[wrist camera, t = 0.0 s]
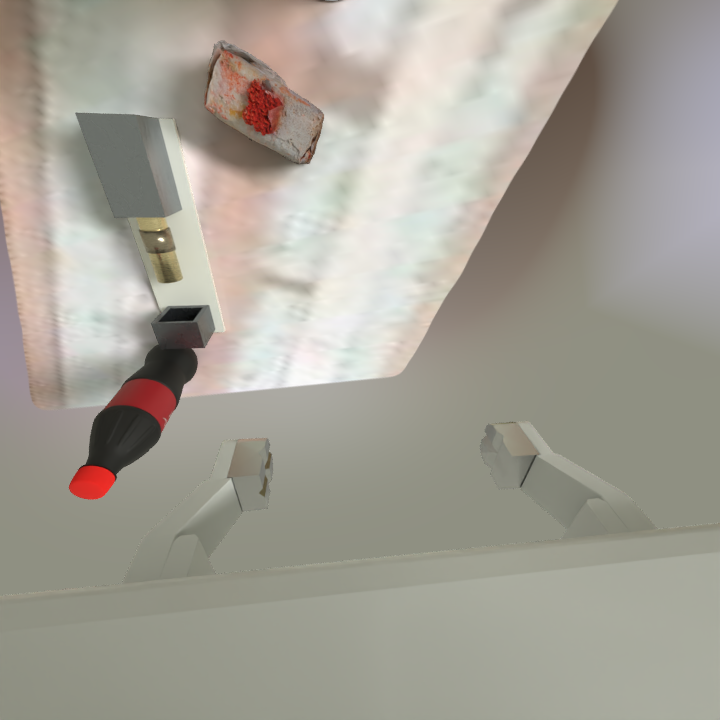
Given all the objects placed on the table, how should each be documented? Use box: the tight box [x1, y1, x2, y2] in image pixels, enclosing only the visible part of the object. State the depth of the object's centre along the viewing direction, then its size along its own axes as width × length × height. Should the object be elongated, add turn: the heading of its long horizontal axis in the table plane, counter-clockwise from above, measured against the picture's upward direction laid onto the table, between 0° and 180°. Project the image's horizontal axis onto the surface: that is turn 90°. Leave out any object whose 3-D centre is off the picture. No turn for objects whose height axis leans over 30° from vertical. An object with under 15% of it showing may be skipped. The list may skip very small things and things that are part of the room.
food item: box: [204, 41, 324, 164], centre depth 40 cm, size 14×8×10 cm, turn 64°
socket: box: [151, 305, 215, 349], centre depth 55 cm, size 5×7×7 cm
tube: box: [136, 218, 183, 283], centre depth 45 cm, size 20×4×4 cm, turn 179°
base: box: [128, 118, 225, 332], centre depth 51 cm, size 32×10×1 cm, turn 179°
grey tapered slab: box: [76, 113, 182, 218], centre depth 42 cm, size 11×6×6 cm, turn 179°
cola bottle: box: [69, 345, 198, 499], centre depth 50 cm, size 8×8×30 cm
